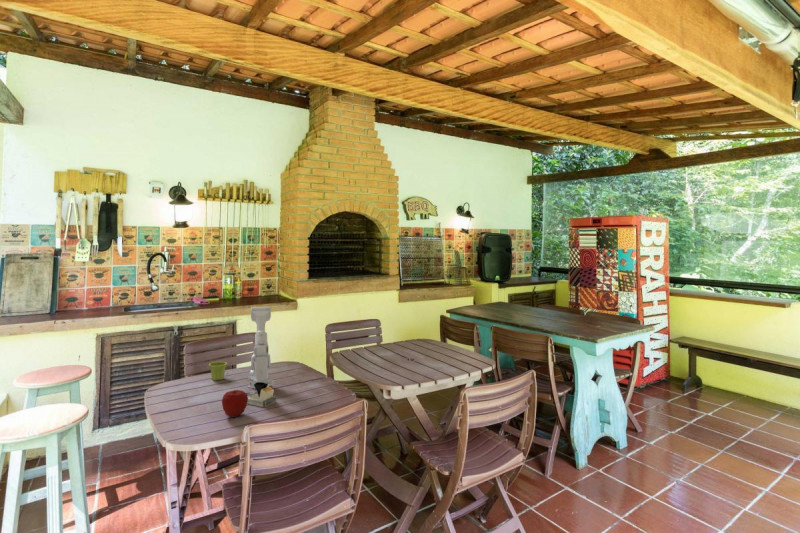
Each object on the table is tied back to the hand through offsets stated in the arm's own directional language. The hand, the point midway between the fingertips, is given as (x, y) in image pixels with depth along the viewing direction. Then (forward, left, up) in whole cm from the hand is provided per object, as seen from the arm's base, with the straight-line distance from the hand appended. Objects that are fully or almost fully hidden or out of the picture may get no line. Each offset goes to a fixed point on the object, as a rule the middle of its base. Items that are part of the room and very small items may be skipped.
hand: (261, 397), depth 200 cm
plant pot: (-47, +18, -3) cm, 51 cm away
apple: (+1, -17, -3) cm, 17 cm away
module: (+2, 0, -1) cm, 2 cm away
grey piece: (-2, 0, -3) cm, 3 cm away
